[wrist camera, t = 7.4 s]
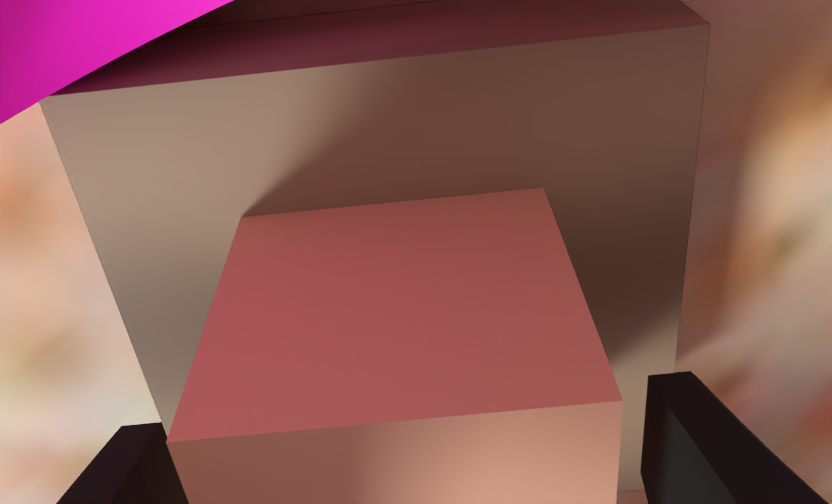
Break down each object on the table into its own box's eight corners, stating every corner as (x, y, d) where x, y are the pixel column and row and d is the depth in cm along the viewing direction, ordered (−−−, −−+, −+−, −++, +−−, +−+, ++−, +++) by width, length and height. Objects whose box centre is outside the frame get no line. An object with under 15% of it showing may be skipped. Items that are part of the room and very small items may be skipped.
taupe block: (625, 392, 19) (662, 488, 16) (227, 430, 19) (203, 530, 17) (650, -23, 14) (710, 24, 11) (101, 38, 14) (37, 97, 11)
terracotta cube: (544, 410, 15) (605, 658, 11) (294, 434, 15) (258, 687, 11) (543, 187, 12) (623, 400, 8) (240, 217, 13) (165, 441, 8)
